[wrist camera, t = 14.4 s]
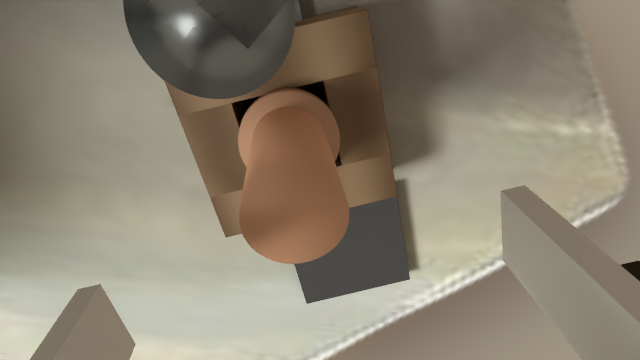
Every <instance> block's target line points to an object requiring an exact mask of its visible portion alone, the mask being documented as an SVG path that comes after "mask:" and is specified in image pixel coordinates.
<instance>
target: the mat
mask: <svg viewBox="0 0 640 360" xmlns="http://www.w3.org/2000/svg"><path fill="white" fill-rule="evenodd" d="M295 267H296V270H297V274H298V277H299V280H300V283H301V287H302V290H303V293H304V296H305V299H306V303H307V304H308V303H312V302H316V301H320V300H325V299H329V298H333V297H337V296H341V295H346V294H350V293H354V292H358V291H363V290H367V289H371V288H375V287H379V286H384V285H388V284H392V283H396V282H400V281H405V280H409V279H410V277H409V271H408V265H407V258H406V252H405V246H404V239H403V233H402V227H401V221H400V214H399V208H398V202H397V196H396V197H392V198H388V199H384V200H379V201H375V202H371V203H367V204H363V205H359V206H354V207H350V208H349V223H348V227H347V230H346V232H345V234H344V236H343V238H342V239H341V241H340V242H339V243H338V244H337V246H336V247H334V248H333V249H332V250H331V251H330V252H328V253H327V254H325V255H324V256H322V257H320V258H318V259H315V260H312V261H309V262H304V263H296V264H295Z"/></svg>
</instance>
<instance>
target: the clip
mask: <svg viewBox="0 0 640 360" xmlns="http://www.w3.org/2000/svg"><path fill="white" fill-rule="evenodd" d="M123 4H124V13H125V20H126V23H127V27H128V31H129V33H130V36H131V38H132V40H133V43H134V45H135V46H136V48H137V50H138V52H139V53H140V55H141V56H142V58H143V59H144V60H145V62H146V63H147V64H148V65H149V66H150V68H151V69H152V70H153V71H154V72H155V73H156V74H157V75H159V76H160V77H161V78H162V79H163V80H165V81H166V82H168V83H169V84H170V85H172V86H174V87H176V88H177V89H179V90H181V91H183V92H186V93H188V94H191V95H194V96H198V97H202V98H209V99H227V98H234V97H238V96H242V95H245V94H247V93H250V92H252V91H254V90H256V89H257V88H259V87H261V86H262V85H263V84H265V83H266V82H267V81H268V80H269V79H270V78H271V77H273V76H274V75H275V73H276V72H277V71H278V70H279V68H280V67H281V66H282V64H283V62H284V60H285V59H286V57H287V55H288V52H289V50H290V47H291V44H292V40H293V36H294V29H295V8H294V0H123Z"/></svg>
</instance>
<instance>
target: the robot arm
mask: <svg viewBox="0 0 640 360" xmlns="http://www.w3.org/2000/svg"><path fill="white" fill-rule="evenodd" d="M501 214H502V245H503V261H504V262H505V263H506V265H507V266H508V267H509V268H510V270H511V271H512V272H513V273H514V275H515V276H516V277H517V279H518V280H519V281H520V282H521V283H522V285H523V286H524V287H525V289H526V290H527V291H528V292H529V294H530V295H531V296H532V297H533V299H534V300H535V301H536V302H537V304H538V305H539V306H540V307H541V309H542V310H543V311H544V313H545V314H546V315H547V316H548V318H549V319H550V320H551V321H552V323H553V324H554V325H555V326H556V328H557V329H558V330H559V331H560V333H561V334H562V335H563V336H564V338H565V339H566V340H567V342H568V343H569V344H570V345H571V347H572V348H573V349H574V350H575V352H576V353H577V354H578V356H579V357H580V358H581V359H582V360H640V261H635V262H631V263H626V264H622V265H619V264H618V263H617V262H616V261H615V260H613V259H612V258H611V257H610V256H609V255H607V254H606V253H605V252H603V250H601V249H600V248H599V247H598V246H597V245H595V244H594V243H593V242H592V241H591V240H589V239H588V238H587V237H586V236H585V235H583V234H582V233H581V232H580V231H579V230H578V229H576V228H575V227H574V226H573V225H572V224H570V223H569V222H568V221H567V220H566V219H564V218H563V217H562V216H561V215H560V214H558V213H557V212H556V211H555V210H554V209H552V208H551V207H550V206H549V205H548V204H546V203H545V202H544V201H543V200H542V199H540V198H539V197H538V196H537V195H536V194H534V193H533V192H532V191H531V190H530V189H528V188H527V187H526V186H525V185H524V186H520V187H516V188H512V189H507V190H503V191H501ZM134 347H135V342H134V341H133V339H132V337H131V336H130V334H129V332H128V330H127V329H126V327H125V325H124V324H123V322H122V320H121V319H120V317H119V315H118V313H117V312H116V310H115V308H114V307H113V305H112V303H111V301H110V300H109V298H108V296H107V295H106V293H105V291H104V289H103V288H102V286H101V284H99V285H95V286H90V287H86V288H82V289H78V290H77V291H76V293H75V294H74V296H73V297H72V299H71V300H70V301H69V303H68V304H67V306H66V307H65V309H64V310H63V312H62V313H61V315H60V316H59V318H58V319H57V321H56V322H55V324H54V325H53V326H52V328H51V329H50V331H49V332H48V334H47V335H46V337H45V338H44V340H43V341H42V343H41V344H40V346H39V347H38V349H37V350H36V351H35V353H34V354H33V356H32V357H31V359H30V360H129V359H130V356H131V354H132V352H133V349H134Z"/></svg>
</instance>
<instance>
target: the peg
mask: <svg viewBox="0 0 640 360" xmlns="http://www.w3.org/2000/svg"><path fill="white" fill-rule="evenodd" d="M238 147H239V152H240V155H241V158H242V160H243V162H244V164H245V166H246V167H247V170H246V175H245V181H244V187H243V192H242V198H241V204H240V210H239V225H240V229H241V232H242V234H243V236H244V238H245V240H246V241H247V243H248V244H249V245H250V246H251V247H252V248H253V249H254V250H255V251H256V252H258V253H259V254H261V255H262V256H264V257H266V258H268V259H271V260H273V261H277V262H281V263H290V264H296V263H304V262H309V261H312V260H315V259H318V258H320V257H322V256H324V255H325V254H327V253H328V252H330V251H331V250H332V249H333V248H334V247H336V246H337V244H338V243H339V242H340V241H341V239H342V238H343V236H344V234H345V232H346V230H347V227H348V223H349V205H348V202H347V199H346V196H345V192H344V189H343V186H342V183H341V180H340V177H339V173H338V170H337V167H336V164H335V161H336V158H337V156H338V152H339V148H340V132H339V128H338V125H337V122H336V120H335V118H334V115H333V113H332V112H331V110H330V109H329V107H328V106H327V105H326V104H325V103H324V102H323V101H322V100H321V99H320V98H318V97H317V96H315V95H313V94H312V93H310V92H307V91H305V90H303V89H301V88H298V87H295V88H282V89H277V90H273V91H270V92H268V93H266V94H264V95H262V96H261V97H259V98H258V99H257V100H255V101H254V102H253V103H252V104H251V105H250V107H249V108H248V109H247V111H246V112H245V114H244V116H243V118H242V122H241V125H240V128H239V134H238Z"/></svg>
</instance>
